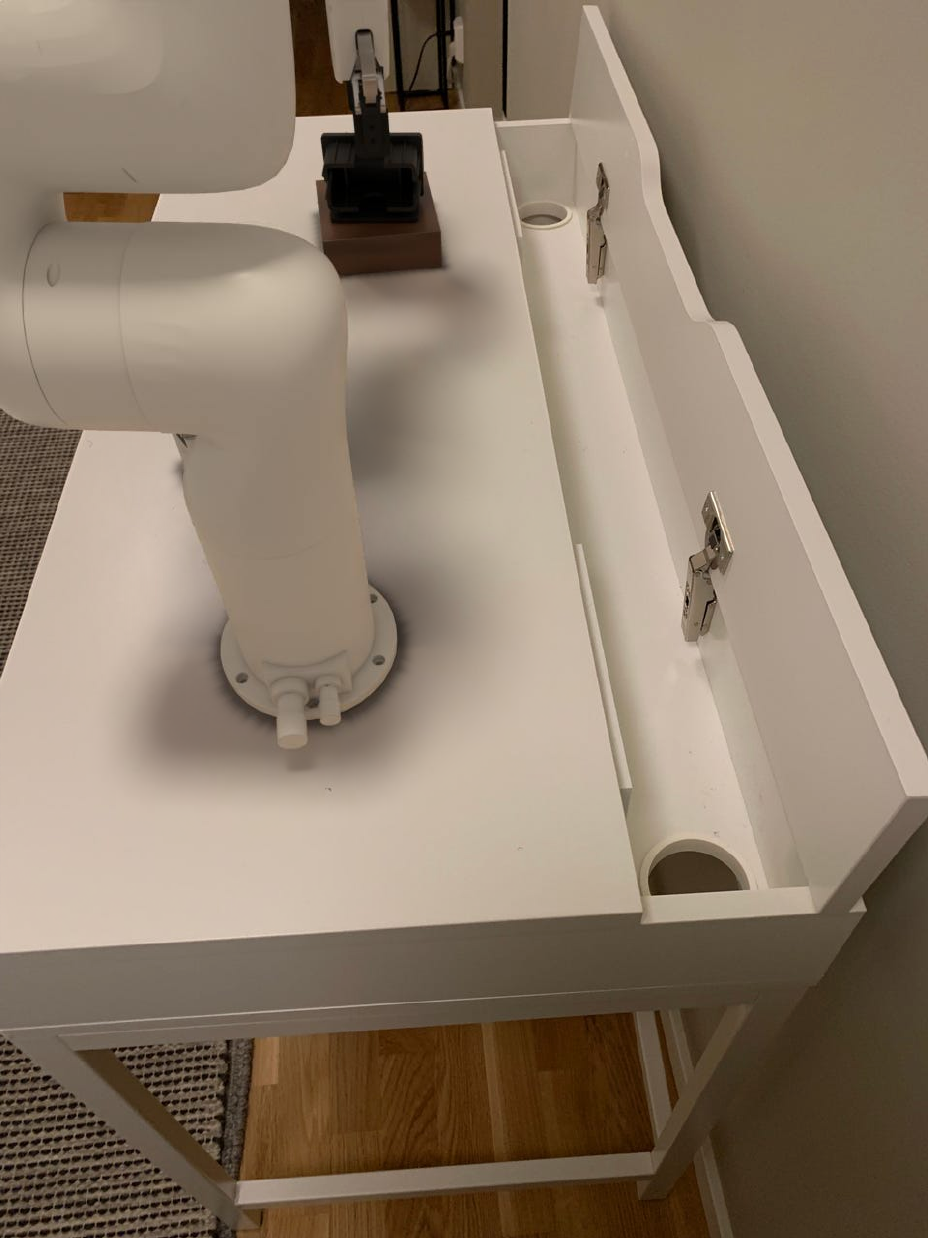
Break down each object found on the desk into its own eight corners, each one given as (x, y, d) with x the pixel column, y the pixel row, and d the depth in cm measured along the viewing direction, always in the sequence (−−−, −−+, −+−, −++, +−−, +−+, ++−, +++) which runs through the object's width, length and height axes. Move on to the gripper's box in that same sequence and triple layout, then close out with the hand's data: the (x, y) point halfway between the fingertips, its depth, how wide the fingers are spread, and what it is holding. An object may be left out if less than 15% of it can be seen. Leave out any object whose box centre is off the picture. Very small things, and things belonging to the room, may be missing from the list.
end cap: (425, 186, 94) (422, 120, 88) (423, 223, 89) (420, 156, 84) (331, 187, 94) (322, 120, 88) (325, 223, 89) (315, 156, 84)
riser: (441, 266, 92) (441, 230, 89) (327, 277, 91) (322, 241, 88) (427, 206, 99) (426, 170, 96) (320, 215, 98) (315, 179, 95)
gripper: (300, -117, 76) (325, 95, 90) (309, -49, 66) (336, 178, 80) (385, -121, 77) (398, 90, 91) (408, -55, 67) (418, 172, 80)
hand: (369, 131), depth 85 cm, fingers open, 9 cm apart
